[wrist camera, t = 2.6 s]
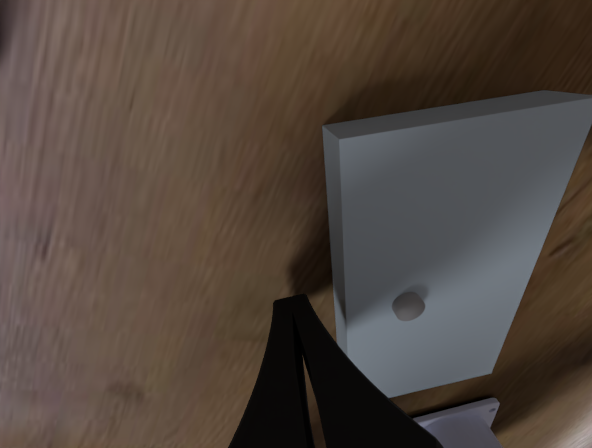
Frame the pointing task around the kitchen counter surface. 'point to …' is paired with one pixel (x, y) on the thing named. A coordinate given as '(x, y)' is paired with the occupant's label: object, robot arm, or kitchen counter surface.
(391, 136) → the door
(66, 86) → the kitchen counter surface
